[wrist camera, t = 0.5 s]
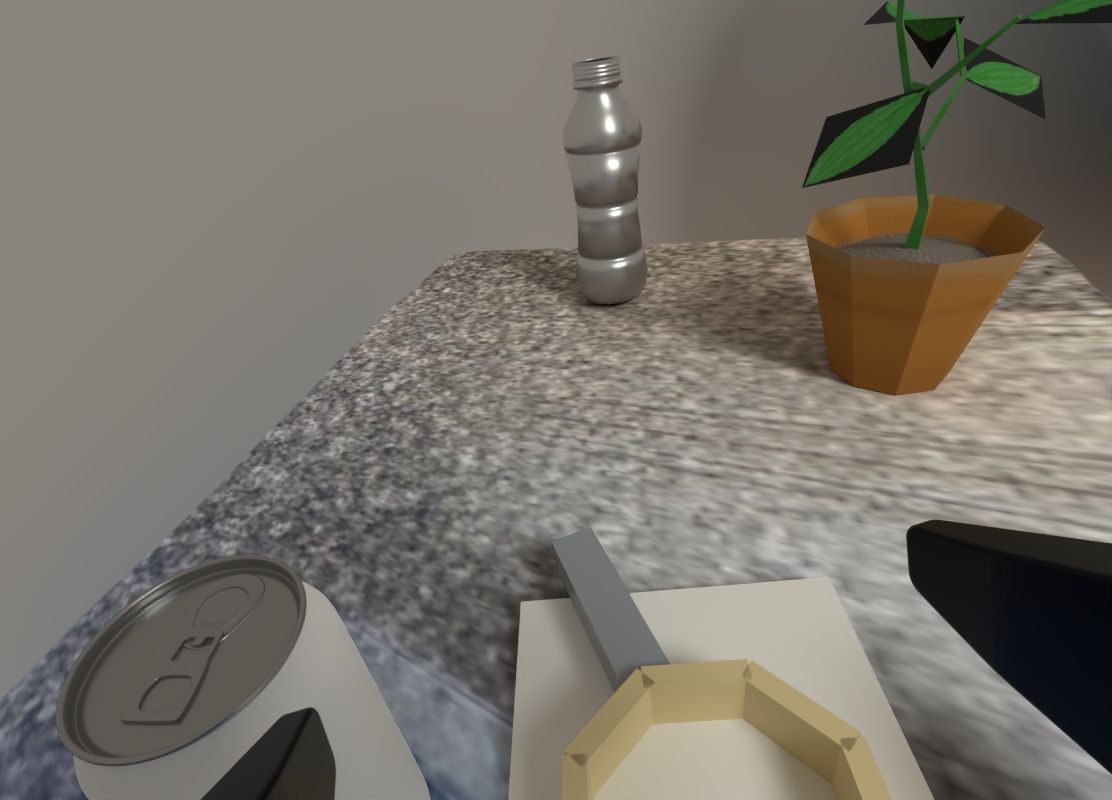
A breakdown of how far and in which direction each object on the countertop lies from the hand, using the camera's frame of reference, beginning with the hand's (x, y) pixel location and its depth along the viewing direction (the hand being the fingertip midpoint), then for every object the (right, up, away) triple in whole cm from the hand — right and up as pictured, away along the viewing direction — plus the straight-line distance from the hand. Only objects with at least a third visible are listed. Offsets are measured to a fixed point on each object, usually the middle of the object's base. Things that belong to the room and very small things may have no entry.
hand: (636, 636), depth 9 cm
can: (-9, -13, +13) cm, 20 cm away
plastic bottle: (+4, +13, +48) cm, 50 cm away
